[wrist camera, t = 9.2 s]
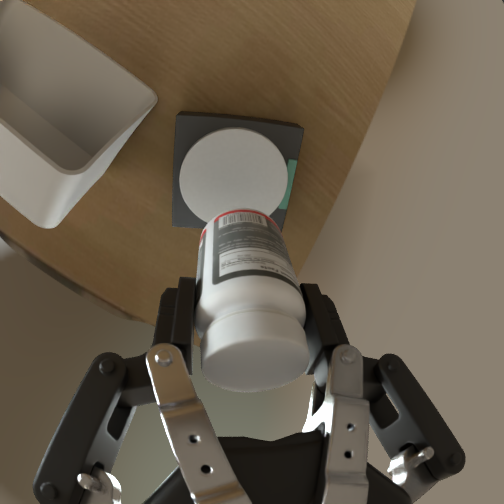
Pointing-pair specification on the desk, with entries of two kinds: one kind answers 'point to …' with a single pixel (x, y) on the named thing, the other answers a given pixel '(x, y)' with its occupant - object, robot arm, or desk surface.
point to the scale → (232, 166)
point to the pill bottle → (248, 305)
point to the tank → (59, 113)
